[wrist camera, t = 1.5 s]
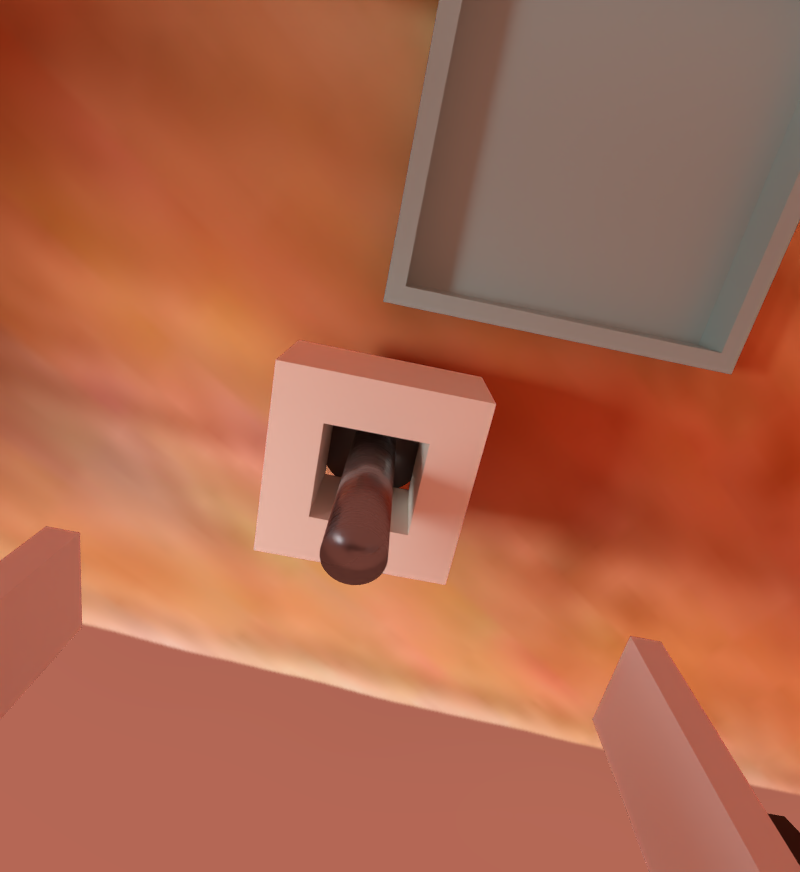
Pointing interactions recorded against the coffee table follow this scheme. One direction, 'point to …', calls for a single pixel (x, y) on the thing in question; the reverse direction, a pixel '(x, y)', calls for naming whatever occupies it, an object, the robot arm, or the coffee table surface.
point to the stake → (363, 502)
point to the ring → (382, 414)
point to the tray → (605, 171)
